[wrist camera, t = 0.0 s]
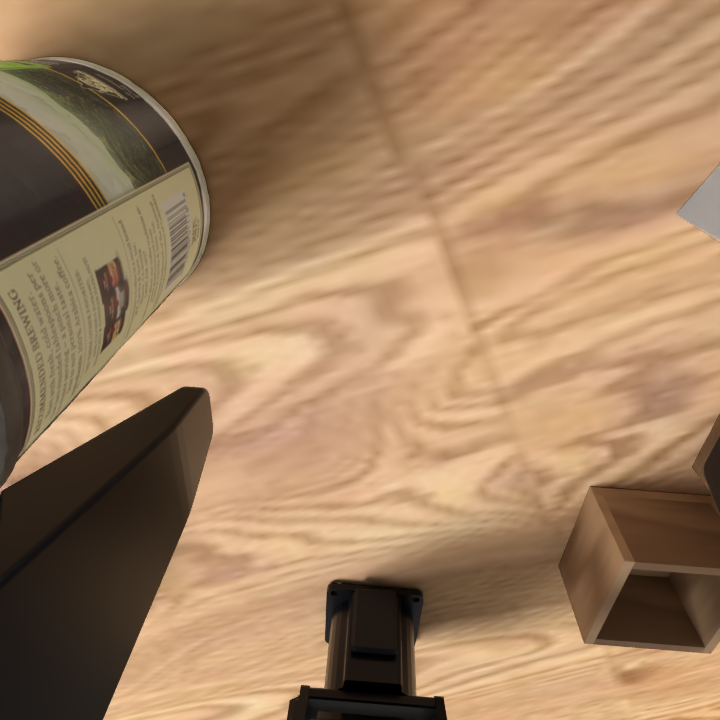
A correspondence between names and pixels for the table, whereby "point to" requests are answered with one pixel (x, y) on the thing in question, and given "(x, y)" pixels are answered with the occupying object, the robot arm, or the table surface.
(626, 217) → the table surface
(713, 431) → the box
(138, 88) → the coffee can
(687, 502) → the box
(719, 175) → the pale grey square pillar
